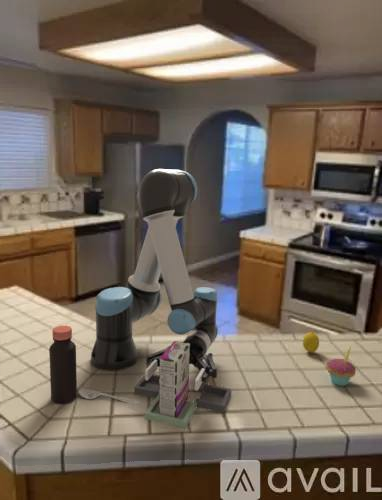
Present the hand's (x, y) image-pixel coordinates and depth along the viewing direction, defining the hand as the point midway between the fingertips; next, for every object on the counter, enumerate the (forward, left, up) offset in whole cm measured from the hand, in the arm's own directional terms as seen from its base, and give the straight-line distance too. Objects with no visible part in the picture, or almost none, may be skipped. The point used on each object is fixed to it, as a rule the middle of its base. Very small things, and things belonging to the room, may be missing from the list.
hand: (170, 380), depth 101 cm
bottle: (-30, -3, -10) cm, 32 cm away
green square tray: (0, +2, -10) cm, 10 cm away
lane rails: (0, +20, -10) cm, 22 cm away
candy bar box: (0, +3, -10) cm, 10 cm away
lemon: (+34, +52, -10) cm, 63 cm away
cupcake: (+43, +34, -10) cm, 56 cm away
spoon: (-17, +1, -11) cm, 20 cm away
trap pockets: (0, +10, -10) cm, 14 cm away
